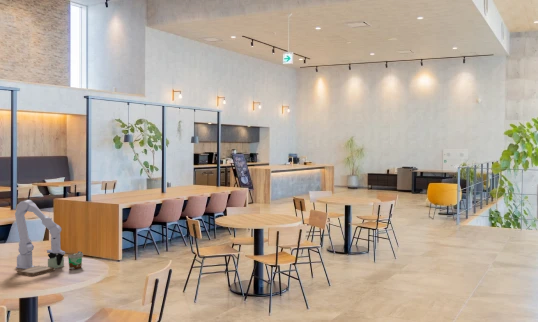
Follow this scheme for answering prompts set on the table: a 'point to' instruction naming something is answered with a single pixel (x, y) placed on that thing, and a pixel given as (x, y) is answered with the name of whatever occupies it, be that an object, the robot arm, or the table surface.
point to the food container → (75, 261)
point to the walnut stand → (35, 270)
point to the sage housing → (55, 262)
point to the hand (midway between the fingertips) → (56, 264)
